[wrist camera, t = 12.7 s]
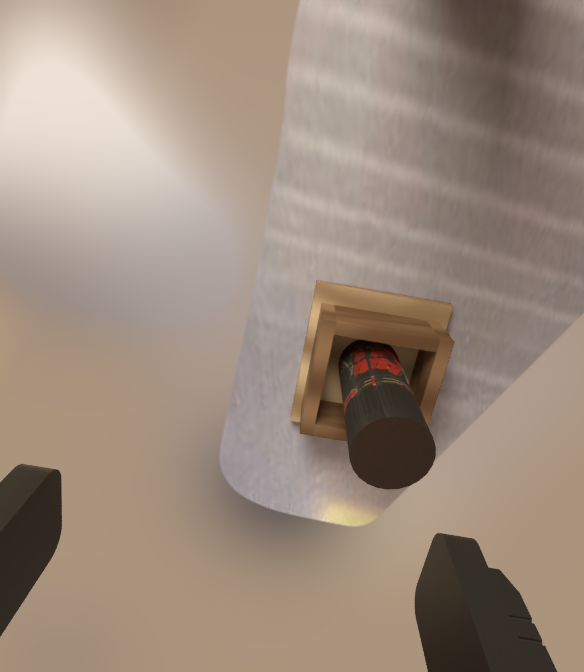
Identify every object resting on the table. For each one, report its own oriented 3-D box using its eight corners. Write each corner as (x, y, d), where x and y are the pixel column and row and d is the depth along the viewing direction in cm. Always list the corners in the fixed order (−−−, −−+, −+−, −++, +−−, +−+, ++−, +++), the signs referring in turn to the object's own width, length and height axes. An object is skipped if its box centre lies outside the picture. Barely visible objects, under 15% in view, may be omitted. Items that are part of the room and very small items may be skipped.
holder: (316, 280, 45) (317, 297, 39) (450, 303, 45) (469, 323, 40) (290, 415, 50) (288, 448, 45) (410, 435, 50) (422, 470, 45)
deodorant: (410, 367, 47) (453, 457, 33) (364, 402, 48) (386, 503, 34) (372, 325, 45) (399, 400, 31) (325, 363, 47) (331, 451, 33)
